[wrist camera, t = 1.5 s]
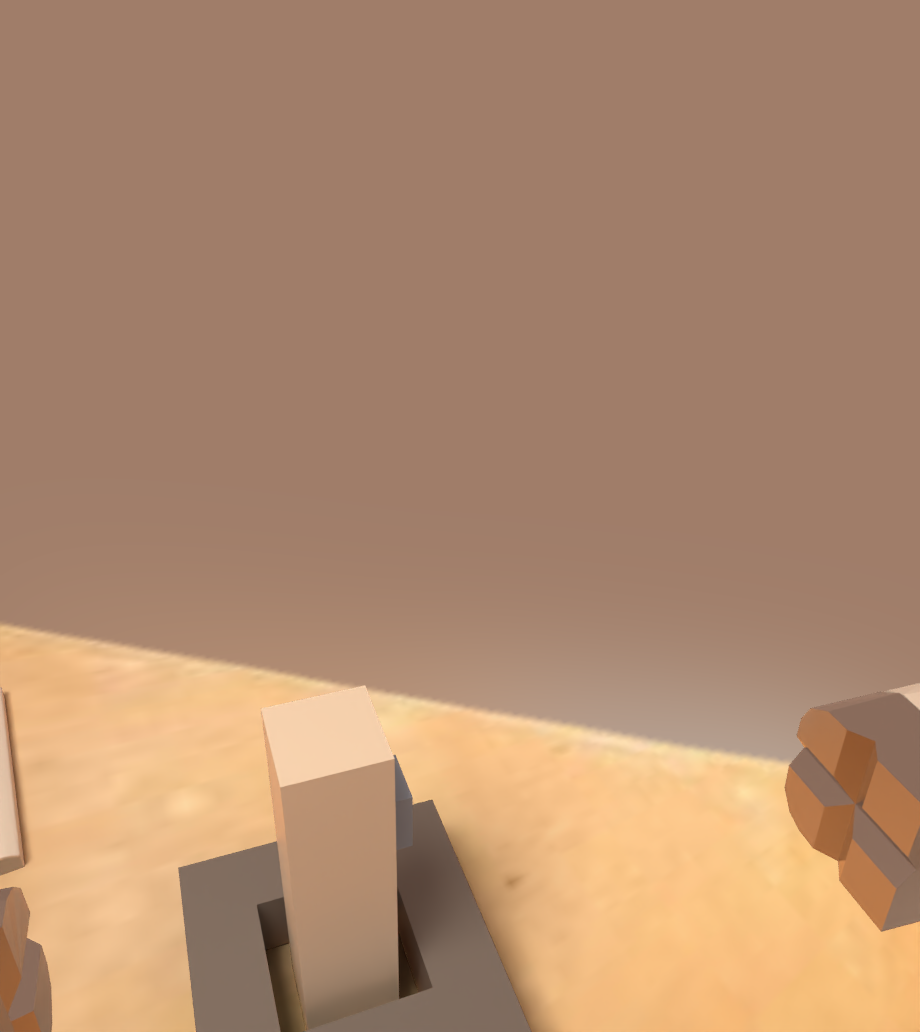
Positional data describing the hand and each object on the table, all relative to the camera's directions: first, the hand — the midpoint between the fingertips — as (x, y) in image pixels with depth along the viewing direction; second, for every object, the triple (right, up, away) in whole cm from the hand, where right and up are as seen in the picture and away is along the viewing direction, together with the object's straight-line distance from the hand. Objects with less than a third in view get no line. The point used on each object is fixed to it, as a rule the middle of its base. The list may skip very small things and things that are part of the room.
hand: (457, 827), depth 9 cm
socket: (-5, -16, +26) cm, 31 cm away
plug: (-5, -16, +26) cm, 31 cm away
